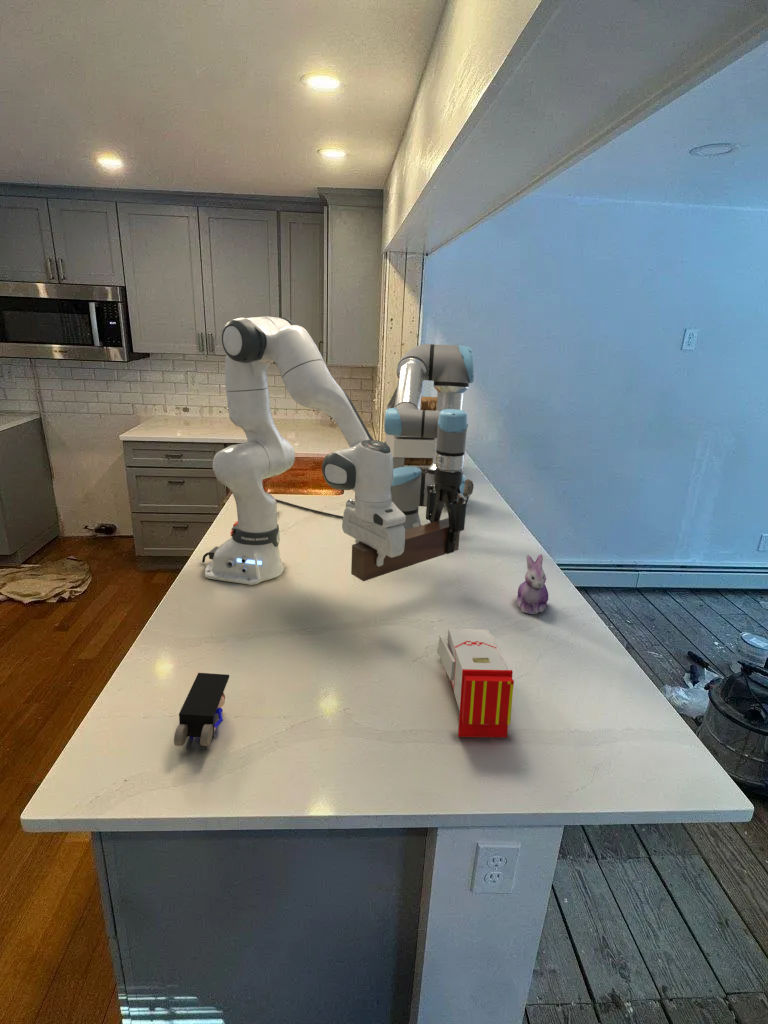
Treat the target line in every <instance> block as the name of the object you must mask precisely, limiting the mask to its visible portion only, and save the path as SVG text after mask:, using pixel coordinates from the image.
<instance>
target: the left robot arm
mask: <svg viewBox="0 0 768 1024" xmlns="http://www.w3.org/2000/svg"><path fill="white" fill-rule="evenodd" d="M221 344H222V348H223V351H224V352H225V354H226V355H225V361H224V385H225V394H226V395H225V396H226V403H227V409H228V417H229V419H230V422H231V423H232V424H233V425H234V426H236V427H238V428H241V429H242V430H243V432H244V434H245V437H246V440H247V441H246V442H242V443H236V444H231V445H229V446H227V447H225V448H223V449H221V450H219V451H217V452H216V453H215V454H214V457H213V460H212V471H213V475H214V477H215V478H216V480H217V481H218V482H219V483H220V484H222V485H223V486H225V487H226V488H227V489H229V491H230V492H231V494H232V495H233V499H234V501H235V504H236V514H237V515H236V516H237V517H236V518H237V520H236V521H235V522H234V523H233V524H232V527H231V530H230V538H229V539H227V540H226V541H225V542H223V543H221V544H220V545H218V546H214V547H213V548H212V549H211V550H209V551H208V552H205V553H204V554H203V555H202V560H201V562H202V563H205V562H206V557H208V559H209V560H211V561H209V563H208V564H207V565H206V567H205V570H204V577H205V578H206V579H209V580H216V581H221V582H222V581H223V582H230V583H237V584H243V585H250V586H254V585H257V584H260V583H262V582H265V581H269V580H272V579H276V578H277V577H280V576H281V575H282V574H283V573H284V571H285V567H284V565H283V562H282V558H281V553H280V546H279V545H280V539H281V538H280V536H281V535H280V525H279V523H278V514H277V513H278V503H277V501H276V500H275V499H276V497H274V496H273V495H272V494H271V493H269V492H267V491H265V489H264V485H263V483H264V482H263V481H264V480H266V479H269V478H274V477H277V476H279V475H282V474H283V473H286V472H287V471H288V470H290V469H291V468H292V467H293V465H294V464H295V461H296V452H295V449H294V447H293V445H292V443H291V442H290V441H289V440H287V439H286V438H285V437H283V436H282V434H281V433H280V431H279V430H278V428H277V426H276V423H275V421H274V417H273V414H272V409H271V402H270V401H271V400H270V393H269V385H268V378H267V377H268V376H267V371H268V368H269V366H270V365H271V364H272V363H273V364H274V365H276V367H277V369H278V372H279V375H280V377H281V379H282V381H283V384H284V386H285V389H286V391H287V392H288V394H289V396H290V397H291V398H292V399H293V401H294V402H295V403H297V404H298V405H300V406H302V407H305V408H308V409H312V410H315V411H319V412H321V413H324V414H325V415H327V416H329V417H330V418H332V420H334V422H335V423H336V425H337V426H338V429H339V430H340V432H341V433H342V435H343V437H344V439H345V441H346V443H347V444H348V447H345V448H342V449H337V450H334V451H332V452H330V453H328V454H327V455H325V457H324V458H323V461H322V464H321V472H322V477H323V479H324V481H325V482H326V484H327V485H328V486H329V487H330V488H332V489H334V490H338V491H352V492H354V498H350V499H348V500H347V501H346V502H345V509H344V510H343V515H342V516H343V518H342V522H341V529H342V532H343V533H344V534H346V535H347V536H349V537H351V538H354V539H355V540H354V543H355V544H357V543H360V542H363V543H364V544H366V545H368V546H370V547H372V548H374V549H376V550H377V554H379V555H378V557H377V558H374V564H375V565H377V566H382V565H383V560H384V558H385V556H386V555H387V556H389V557H391V558H392V557H396V556H399V555H401V554H402V553H403V552H404V546H405V529H404V526H403V525H402V523H405V521H406V516H405V514H404V513H403V512H401V511H400V510H399V509H398V508H397V507H396V505H395V504H394V503H393V502H392V494H391V484H392V481H393V455H392V451H391V449H390V447H389V446H388V445H387V444H385V443H384V441H381V440H377V439H376V440H375V439H374V438H373V437H372V435H371V434H370V432H369V430H368V428H367V426H366V424H365V423H364V421H363V420H362V418H361V416H360V414H359V412H358V411H357V409H356V407H355V405H354V403H353V401H352V399H351V398H350V397H349V395H348V394H347V392H346V391H345V390H344V389H343V388H342V387H341V386H340V384H338V383H337V382H336V380H335V379H334V377H333V375H332V374H331V373H330V370H329V368H328V367H327V364H326V363H325V360H324V358H323V356H322V354H321V352H320V350H319V348H318V346H317V344H316V343H315V340H313V338H312V336H311V335H310V333H309V332H308V331H307V329H305V327H303V326H301V325H299V324H297V323H296V322H295V321H293V320H291V319H290V318H286V317H282V316H281V317H275V316H267V315H266V316H265V315H262V316H261V315H259V316H253V317H252V316H251V317H238V318H234V319H231V320H229V321H228V322H227V323H226V324H225V325H224V326H223V329H222V333H221Z"/></svg>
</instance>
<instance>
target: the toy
mask: <svg viewBox="0 0 768 1024" xmlns="http://www.w3.org/2000/svg"><path fill="white" fill-rule="evenodd" d="M446 640H447V643H446V641H445V639H444V636H443V635H442V634H439V637H438V646H437V656H438V657H439V659H440V661H441V663H442V666H443V668H444V670H445V672H446V674H447V677H448V679H449V681H450V684H451V687H452V690H453V693H454V697H455V701H456V705H457V708H458V711H459V714H458V715H459V716H458V730H457V731H458V732H457V737H458V738H508V731H509V726H510V725H511V717H512V707H513V697H514V696H513V695H514V684H515V680H514V679H513V673H514V671H513V670H512V669H508V667H507V665H506V662H505V661H504V659H503V658H502V655H501V653H500V651H499V649H498V647H497V643H496V639H495V637H494V635H493V634H491V632H490V631H489V629H467V628H466V629H465V628H463V629H461V628H460V629H459V628H448V630H447V639H446Z"/></svg>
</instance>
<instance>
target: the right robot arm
mask: <svg viewBox="0 0 768 1024" xmlns="http://www.w3.org/2000/svg"><path fill="white" fill-rule="evenodd" d="M474 363H475V361H474V352H473V349H472V348H471V347H470V346H466V345H465V346H464V345H459V344H436V343H435V344H434V343H433V344H432V343H423V344H419V345H416V346H413V347H412V348H411V349H409V350H408V351H406V352H405V353H404V354H403V355H402V356H401V358H400V359H399V361H398V363H397V367H396V376H397V378H398V380H397V386H396V388H397V392H396V399H395V405H394V408H389V409H387V408H386V410H385V413H384V423H383V424H384V426H383V429H384V434H385V435H386V434H387V435H394V436H398V437H399V436H407V437H424V438H434V449H433V463H432V464H431V465H430V466H429V465H428V466H427V472H422V469H421V468H420V467H419V466H418V467H417V466H404V467H399V468H395V469H393V481H392V484H391V494H392V502H393V503H394V504H395V505H396V507H397V508H398V509H399V510H400V511H401V512H403V513H404V514H405V516H406V521H405V523H402V525H403V526H404V529H405V530H407V529H411V528H414V527H418V526H421V525H422V524H421V518H420V515H419V507H425V520H426V521H429V523H432V522H436V521H439V520H441V516H442V513H443V510H445V509H446V508H447V510H448V511H447V510H446V511H447V518H448V519H449V528H450V530H449V531H447V540H446V552H445V553H446V554H445V555H449V554H452V553H455V551H454V548H455V543H456V542H457V533H458V532H460V533H461V532H463V531H465V527H466V526H465V525H466V524H465V523H466V514H467V513H466V512H467V504H468V502H469V499H468V497H467V496H465V497H464V496H463V491H464V486H465V485H464V484H465V480H466V476H465V475H464V471H463V470H464V467H465V454H466V453H465V452H466V450H465V449H466V442H467V433H468V427H469V421H468V419H469V415H468V412H466V411H465V410H463V403H464V393H466V391H467V390H469V386H470V384H472V383H474V379H475V364H474ZM424 381H428V382H429V381H430V382H431V381H432V382H433V388H434V389H435V391H436V393H437V395H436V397H437V408H436V411H431V410H420V404H421V397H422V392H423V382H424ZM275 500H276V502H278V503H281V504H284V505H287V506H291V507H294V508H298V509H302V510H305V511H309V512H313V513H316V514H317V513H318V514H321V515H325V516H330V517H335V518H338V519H339V518H340V519H343V515H338V514H334V513H329V512H324V511H321V510H316V509H312V508H308V507H305V506H301V505H297V504H293V503H290V502H287V501H283V500H280V499H276V498H275Z"/></svg>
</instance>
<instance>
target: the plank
mask: <svg viewBox="0 0 768 1024" xmlns="http://www.w3.org/2000/svg"><path fill="white" fill-rule="evenodd" d="M449 530H450V528H449V519H448V517H447V518H444V519H443V518H442V519H440V520H439V521H436V522H432V523H430V522H429V523H425V524H421V526H418V527H414V528H411V529H407V530H405V546H404V552H403V553H402V554H401V555H399V556H396V557H392V558H391V557H389V556H387V555H386V556H385V558H384V560H383V565H382V566H377V565H375V564H374V558H377V557H378V555H379V554H377V550H376V549H374V548H372V547H370V546H368V545H366V544H364V543H363V542H360V543H357V544H356V543H354V544H351V566H350V567H351V568H350V569H351V571H350V573H351V576H353V577H355V578H357V579H359V580H360V581H362V582H366V581H369V580H372V579H375V578H379V577H381V576H384V575H387V574H390V573H392V572H396V571H399V570H402V569H405V568H408V567H411V566H414V565H417V564H419V563H423V562H426V561H428V560H432V559H435V558H438V557H441V556H444V555H447V554H446V553H445V552H446V540H447V531H449ZM460 534H461V531H460V532H458V533H457V542H456V543H455V548H454V552H456V551H459V545H460V537H461V535H460Z"/></svg>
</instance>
